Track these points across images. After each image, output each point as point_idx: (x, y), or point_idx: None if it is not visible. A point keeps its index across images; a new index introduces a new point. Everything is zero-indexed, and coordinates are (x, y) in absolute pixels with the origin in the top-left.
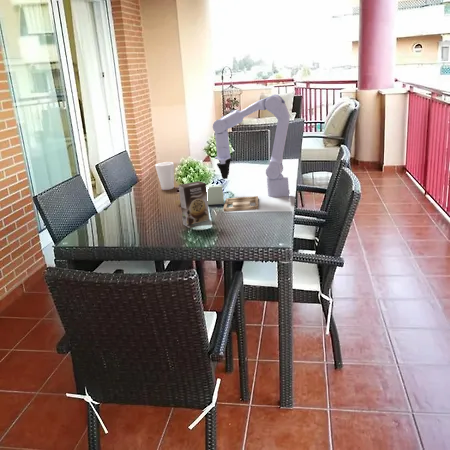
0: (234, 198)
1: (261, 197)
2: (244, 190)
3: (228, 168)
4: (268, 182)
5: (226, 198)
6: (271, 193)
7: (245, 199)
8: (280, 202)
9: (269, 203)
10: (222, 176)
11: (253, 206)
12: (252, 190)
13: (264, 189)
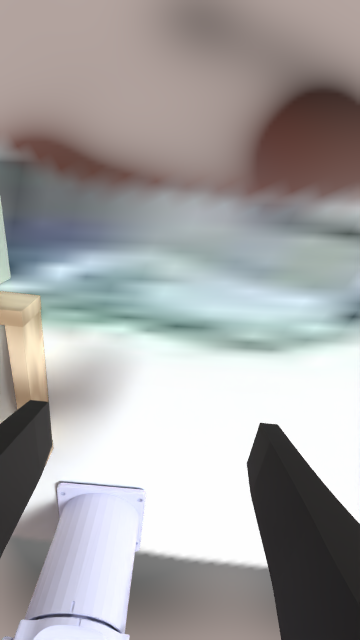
0: (12, 364)
1: (132, 465)
2: (333, 412)
3: (271, 561)
4: (49, 593)
5: (22, 314)
6: (60, 527)
7: None
8: None
9: None
10: (2, 426)
11: None
12: (303, 446)
13: None
